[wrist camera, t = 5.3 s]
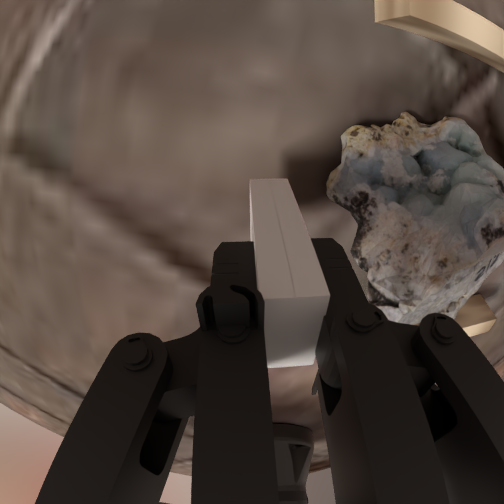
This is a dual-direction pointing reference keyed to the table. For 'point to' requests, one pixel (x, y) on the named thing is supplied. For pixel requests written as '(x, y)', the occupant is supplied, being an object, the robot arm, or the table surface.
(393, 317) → the mineral specimen
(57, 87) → the table surface
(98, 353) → the table surface
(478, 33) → the wooden slats
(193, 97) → the table surface
